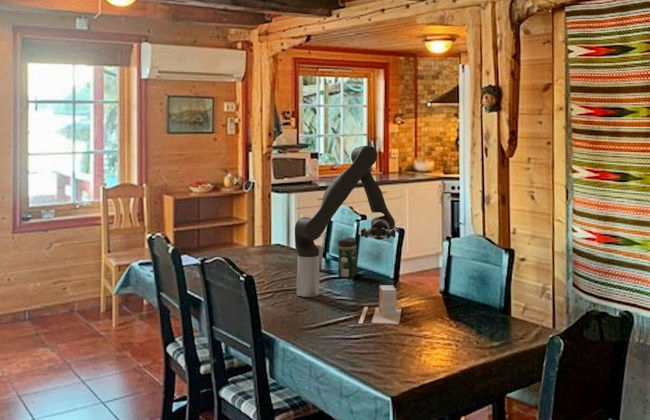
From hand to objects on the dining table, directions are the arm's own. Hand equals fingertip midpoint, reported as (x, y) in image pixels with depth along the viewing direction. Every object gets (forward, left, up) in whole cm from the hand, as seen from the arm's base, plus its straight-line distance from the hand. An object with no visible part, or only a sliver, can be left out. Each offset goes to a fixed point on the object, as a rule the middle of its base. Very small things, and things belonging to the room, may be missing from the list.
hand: (377, 235), depth 274 cm
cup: (-35, +60, -28) cm, 75 cm away
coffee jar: (-18, +48, -28) cm, 58 cm away
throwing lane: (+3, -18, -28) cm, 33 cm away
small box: (+6, -17, -28) cm, 33 cm away
